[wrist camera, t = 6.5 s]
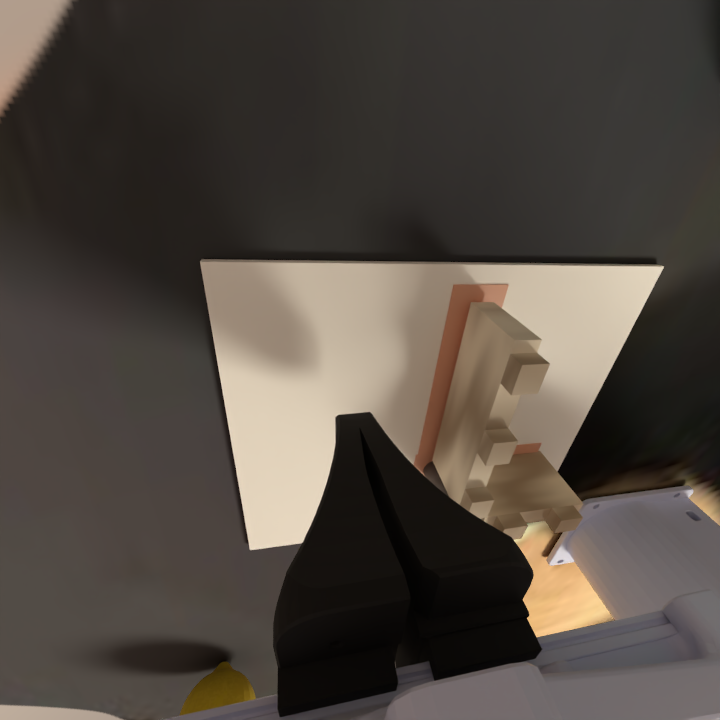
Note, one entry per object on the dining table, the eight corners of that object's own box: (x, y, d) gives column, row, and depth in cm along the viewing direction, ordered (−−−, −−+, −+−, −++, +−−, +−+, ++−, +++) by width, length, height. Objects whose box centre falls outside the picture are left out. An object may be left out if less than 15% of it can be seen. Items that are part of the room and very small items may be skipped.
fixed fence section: (538, 444, 21) (611, 532, 16) (530, 461, 22) (598, 550, 17) (423, 456, 20) (467, 555, 15) (419, 473, 20) (459, 573, 16)
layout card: (657, 264, 16) (665, 266, 15) (534, 507, 25) (537, 511, 24) (201, 258, 12) (199, 262, 12) (250, 545, 21) (249, 551, 21)
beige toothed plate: (449, 458, 19) (484, 524, 16) (432, 460, 19) (463, 527, 16) (493, 302, 14) (555, 350, 11) (471, 302, 14) (527, 351, 11)
